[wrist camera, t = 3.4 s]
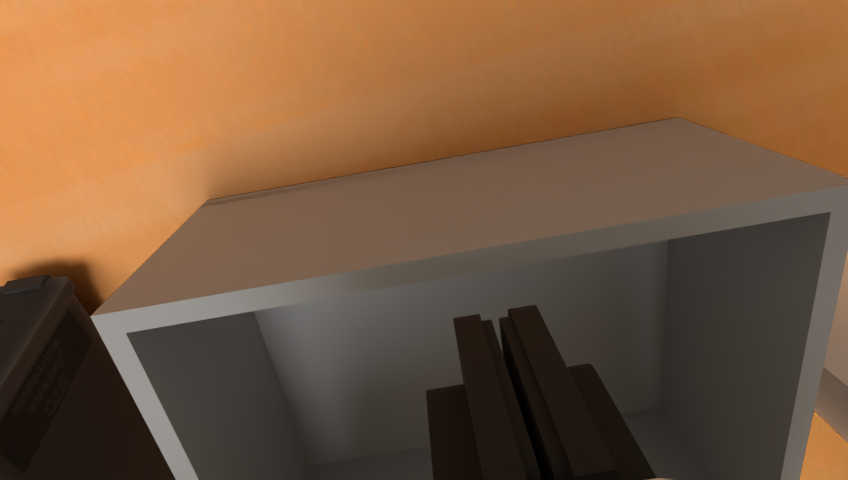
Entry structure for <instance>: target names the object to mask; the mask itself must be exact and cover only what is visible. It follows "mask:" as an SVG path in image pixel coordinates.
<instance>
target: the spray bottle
mask: <svg viewBox="0 0 848 480" xmlns="http://www.w3.org/2000/svg"><path fill="white" fill-rule="evenodd" d="M814 411H815V412H816V413H817V414H818V415H819V416H820V417H821V418H822V419H823V420H824V421H825V422H827V423H828V424H829V425H830V426H831V427H832V428H833V429H834V430H835V431H836V432H837V433H838V434H839V435H840V436H841V437H843V438H844V439H845V440H846V441H847V442H848V252H847V257H846V261H845V266H844V271H843V276H842V280H841V285H840V290H839V294H838V299H837V304H836V309H835V313H834V318H833V323H832V328H831V332H830V337H829V342H828V346H827V351H826V356H825V361H824V365H823V370H822V375H821V379H820V384H819V389H818V394H817V398H816V403H815V408H814Z"/></svg>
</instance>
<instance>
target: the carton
mask: <svg viewBox="0 0 848 480" xmlns="http://www.w3.org/2000/svg"><path fill="white" fill-rule="evenodd" d="M847 252H848V178H847V177H845V176H842V175H839V174H836V173H833V172H831V171H828V170H825V169H822V168H819V167H816V166H814V165H811V164H808V163H805V162H802V161H800V160H797V159H794V158H791V157H788V156H786V155H783V154H780V153H777V152H774V151H772V150H769V149H766V148H763V147H760V146H758V145H755V144H752V143H749V142H746V141H743V140H741V139H738V138H735V137H732V136H729V135H727V134H724V133H721V132H718V131H715V130H713V129H710V128H707V127H704V126H701V125H699V124H696V123H693V122H690V121H687V120H685V119H682V118H679V117H678V118H673V119H667V120H661V121H656V122H650V123H644V124H639V125H633V126H627V127H622V128H616V129H610V130H605V131H599V132H593V133H587V134H582V135H576V136H570V137H565V138H559V139H553V140H548V141H542V142H536V143H531V144H525V145H519V146H514V147H508V148H502V149H497V150H491V151H485V152H480V153H474V154H468V155H462V156H457V157H451V158H445V159H440V160H434V161H428V162H423V163H417V164H411V165H406V166H400V167H394V168H389V169H383V170H377V171H372V172H366V173H360V174H355V175H349V176H343V177H337V178H332V179H326V180H320V181H315V182H309V183H303V184H298V185H292V186H286V187H281V188H275V189H269V190H264V191H258V192H252V193H247V194H241V195H235V196H230V197H224V198H218V199H212V200H207V201H206V202H205V203H204V204H203V205H202V206H201V207H200V208H199V209H198V210H197V211H196V212H195V213H194V214H193V215H192V216H191V217H190V218H189V219H188V220H187V221H186V222H185V223H184V224H183V225H182V226H181V227H180V228H179V229H178V230H177V231H176V232H174V233H173V234H172V235H171V236H170V237H169V238H168V239H167V240H166V241H165V242H164V243H163V244H162V245H161V246H160V247H159V248H158V249H157V250H156V251H155V252H154V253H153V254H152V255H151V256H150V257H149V258H148V259H147V260H146V261H145V262H144V263H143V264H142V265H141V266H140V267H139V268H138V269H137V270H136V271H135V272H134V273H133V274H132V275H131V276H130V277H129V278H128V279H127V280H126V281H125V282H124V283H123V284H122V285H121V286H120V287H119V288H118V289H117V290H116V291H115V292H114V293H113V294H112V295H111V296H110V297H109V298H108V299H107V300H106V301H105V302H104V303H103V304H102V305H101V306H100V307H99V308H98V309H97V310H96V311H95V312H94V313H93V314H92V315H91V316H90V317H91V319H92V321H93V323H94V325H95V327H96V329H97V330H98V332H99V334H100V336H101V338H102V340H103V342H104V344H105V346H106V348H107V349H108V351H109V353H110V355H111V357H112V359H113V361H114V363H115V365H116V367H117V368H118V370H119V372H120V374H121V376H122V378H123V380H124V382H125V384H126V386H127V388H128V389H129V391H130V393H131V395H132V397H133V399H134V401H135V403H136V405H137V407H138V408H139V410H140V412H141V414H142V416H143V418H144V420H145V422H146V424H147V426H148V427H149V429H150V431H151V433H152V435H153V437H154V439H155V441H156V443H157V445H158V447H159V448H160V450H161V452H162V454H163V456H164V458H165V460H166V462H167V464H168V466H169V467H170V469H171V471H172V473H173V475H174V477H175V479H176V480H433V471H432V459H431V447H430V435H429V423H428V412H427V400H426V390H431V389H437V388H443V387H449V386H455V385H461V384H463V377H462V371H461V365H460V359H459V353H458V347H457V341H456V335H455V329H454V322H453V318H457V317H463V316H469V315H475V314H480V317H481V321H483V320H489V319H491V320H492V323H493V326H494V329H495V332H496V335H497V338H498V342H499V345H500V348H501V351H502V342H501V334H500V326H499V318H501V317H507V316H508V309H511V308H517V307H523V306H529V305H536V306H537V308H538V310H539V312H540V314H541V316H542V318H543V320H544V322H545V324H546V326H547V328H548V330H549V332H550V334H551V336H552V338H553V340H554V342H555V344H556V346H557V348H558V350H559V352H560V354H561V356H562V358H563V360H564V362H565V364H566V366H567V367H570V366H576V365H582V364H588V363H589V364H591V365H592V366H593V367H594V369H595V370H596V372H597V373H598V375H599V377H600V379H601V380H602V382H603V384H604V386H605V388H606V389H607V391H608V393H609V395H610V396H611V398H612V400H613V402H614V403H615V405H616V407H617V409H618V410H619V412H620V414H621V416H622V417H623V419H624V421H625V423H626V424H627V426H628V428H629V430H630V431H631V433H632V435H633V437H634V438H635V440H636V442H637V444H638V445H639V447H640V449H641V451H642V453H643V454H644V456H645V458H646V460H647V461H648V463H649V465H650V467H651V468H652V470H653V472H654V474H655V475H656V477H657V478H663V479H673V480H799V479H800V474H801V469H802V464H803V460H804V455H805V450H806V446H807V441H808V436H809V431H810V427H811V422H812V417H813V412H814V408H815V403H816V398H817V394H818V389H819V384H820V379H821V375H822V370H823V365H824V361H825V356H826V351H827V346H828V342H829V337H830V332H831V328H832V323H833V318H834V313H835V309H836V304H837V299H838V294H839V290H840V285H841V280H842V276H843V271H844V266H845V261H846V257H847ZM502 354H503V351H502Z"/></svg>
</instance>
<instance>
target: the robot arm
mask: <svg viewBox="0 0 848 480" xmlns="http://www.w3.org/2000/svg"><path fill="white" fill-rule="evenodd" d="M453 322H454V329H455V335H456V341H457V347H458V353H459V359H460V365H461V371H462V377H463V384H461V385H455V386H449V387H443V388H437V389H431V390H426V400H427V412H428V423H429V435H430V447H431V459H432V471H433V480H673V479H663V478H657V477H656V475H655V474H654V472H653V470H652V468H651V467H650V465H649V463H648V461H647V460H646V458H645V456H644V454H643V453H642V451H641V449H640V447H639V445H638V444H637V442H636V440H635V438H634V437H633V435H632V433H631V431H630V430H629V428H628V426H627V424H626V423H625V421H624V419H623V417H622V416H621V414H620V412H619V410H618V409H617V407H616V405H615V403H614V402H613V400H612V398H611V396H610V395H609V393H608V391H607V389H606V388H605V386H604V384H603V382H602V380H601V379H600V377H599V375H598V373H597V372H596V370H595V369H594V367H593V366H592V365H591V364H589V363H588V364H582V365H576V366H570V367H567V366H566V364H565V362H564V360H563V358H562V356H561V354H560V352H559V350H558V348H557V346H556V344H555V342H554V340H553V338H552V336H551V334H550V332H549V330H548V328H547V326H546V324H545V322H544V320H543V318H542V316H541V314H540V312H539V310H538V308H537V306H536V305H529V306H523V307H517V308H511V309H508V316H507V317H501V318H499V326H500V334H501V342H502V351H503V354H502V351H501V348H500V345H499V342H498V338H497V335H496V332H495V329H494V326H493V323H492V320H491V319H489V320H483V321H481V317H480V314H475V315H469V316H463V317H457V318H453Z"/></svg>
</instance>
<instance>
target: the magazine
mask: <svg viewBox="0 0 848 480" xmlns="http://www.w3.org/2000/svg"><path fill="white" fill-rule="evenodd" d="M75 290H76V287H75V285H74V284H73V282H72V281H71V280H70V279H69V278H68V277H67V276H62V277H56V278H51V277H50V275H42V276H36V277H30V278H24V279H18V280H12V281H8V282H7V283H6V284H5V286H1V287H0V480H176V479H175V477H174V475H173V473H172V471H171V469H170V467H169V466H168V464H167V462H166V460H165V458H164V456H163V454H162V452H161V450H160V448H159V447H158V445H157V443H156V441H155V439H154V437H153V435H152V433H151V431H150V429H149V427H148V426H147V424H146V422H145V420H144V418H143V416H142V414H141V412H140V410H139V408H138V407H137V405H136V403H135V401H134V399H133V397H132V395H131V393H130V391H129V389H128V388H127V386H126V384H125V382H124V380H123V378H122V376H121V374H120V372H119V370H118V368H117V367H116V365H115V363H114V361H113V359H112V357H111V355H110V353H109V351H108V349H107V348H106V346H105V344H104V342H103V340H102V338H101V336H100V334H99V332H98V330H97V329H96V327H95V325H94V323H93V321H92V319H91V318H90V316H89V315H88V313H87V312H86V310H85V309H84V307H83V306H82V304H81V303H80V301H79V300H78V298H77V297H76V295H75V294H74V291H75Z"/></svg>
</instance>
